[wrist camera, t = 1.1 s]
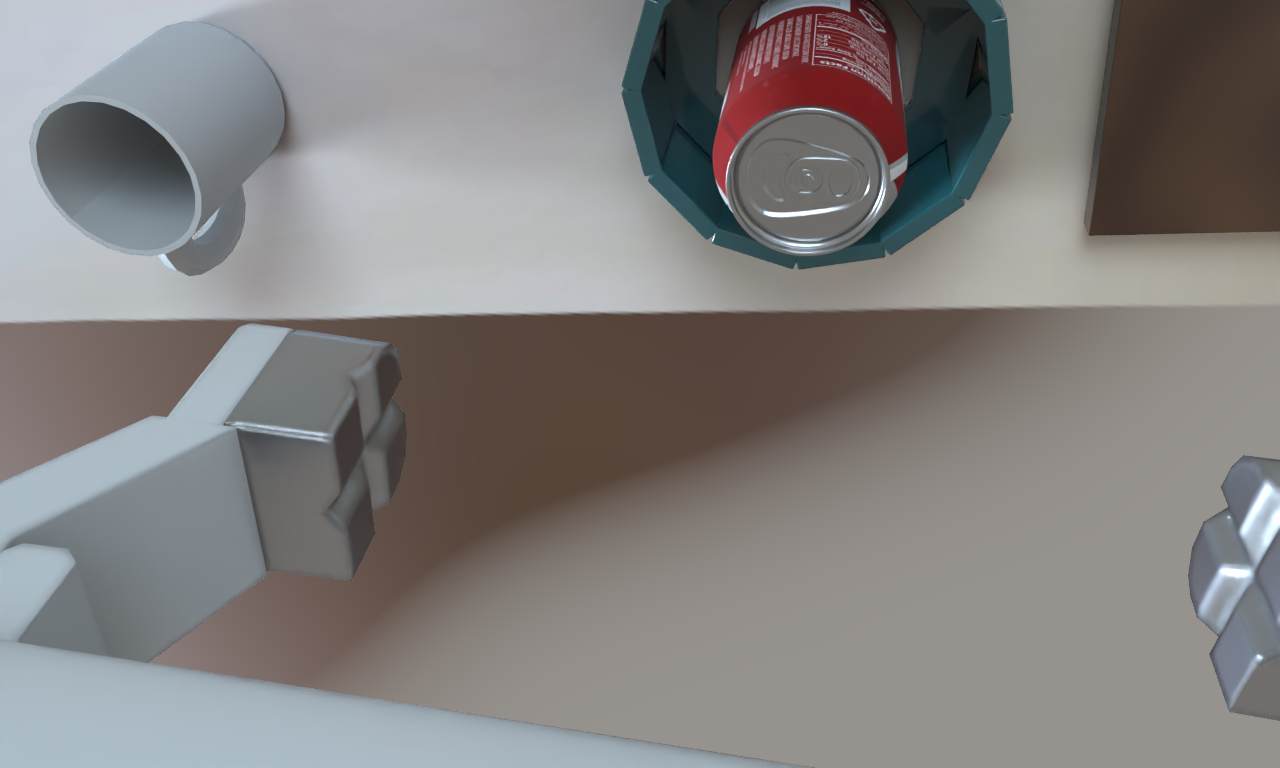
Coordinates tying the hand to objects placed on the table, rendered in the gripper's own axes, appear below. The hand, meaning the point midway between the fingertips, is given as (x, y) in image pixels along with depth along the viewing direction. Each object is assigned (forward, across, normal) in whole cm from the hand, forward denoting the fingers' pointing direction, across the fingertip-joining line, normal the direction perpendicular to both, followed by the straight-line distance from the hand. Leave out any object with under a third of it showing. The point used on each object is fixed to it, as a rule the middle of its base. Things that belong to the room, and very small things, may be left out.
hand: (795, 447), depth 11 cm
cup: (+38, +26, +16) cm, 49 cm away
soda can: (+38, -1, +10) cm, 39 cm away
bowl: (+38, -1, +10) cm, 39 cm away
